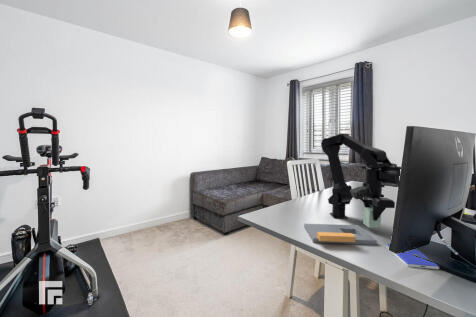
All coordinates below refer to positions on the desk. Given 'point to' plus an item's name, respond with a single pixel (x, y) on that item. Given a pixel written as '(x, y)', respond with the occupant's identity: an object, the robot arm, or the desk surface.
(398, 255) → the hard drive
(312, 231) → the socket plate
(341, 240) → the bar
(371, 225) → the pale green block
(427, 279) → the desk surface
